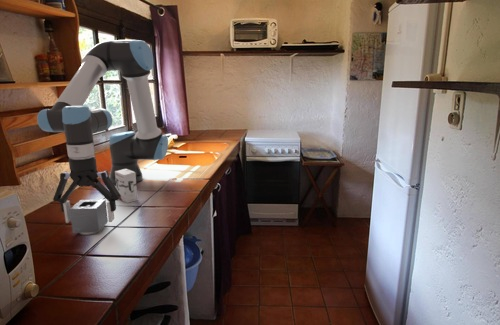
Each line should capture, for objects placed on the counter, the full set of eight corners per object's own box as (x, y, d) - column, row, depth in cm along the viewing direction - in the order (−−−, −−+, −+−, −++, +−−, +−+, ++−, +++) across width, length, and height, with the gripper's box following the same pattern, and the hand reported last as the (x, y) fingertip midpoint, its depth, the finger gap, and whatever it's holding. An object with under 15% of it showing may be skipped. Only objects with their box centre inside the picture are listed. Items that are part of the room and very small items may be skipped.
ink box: (116, 198, 140) (113, 170, 137) (127, 195, 143) (125, 168, 140) (127, 203, 134) (124, 174, 131) (138, 200, 138) (135, 172, 135)
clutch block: (83, 222, 114) (80, 200, 112) (107, 221, 114) (105, 199, 112) (72, 233, 106) (69, 209, 104) (99, 232, 107) (96, 208, 105)
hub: (78, 228, 111) (74, 204, 109) (101, 224, 115) (98, 200, 113) (80, 237, 106) (77, 211, 103) (104, 231, 109) (101, 207, 107)
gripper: (33, 160, 100) (44, 226, 106) (118, 159, 101) (125, 225, 106) (47, 154, 108) (57, 216, 113) (126, 153, 108) (133, 215, 114)
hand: (90, 220), depth 110 cm, fingers open, 13 cm apart
